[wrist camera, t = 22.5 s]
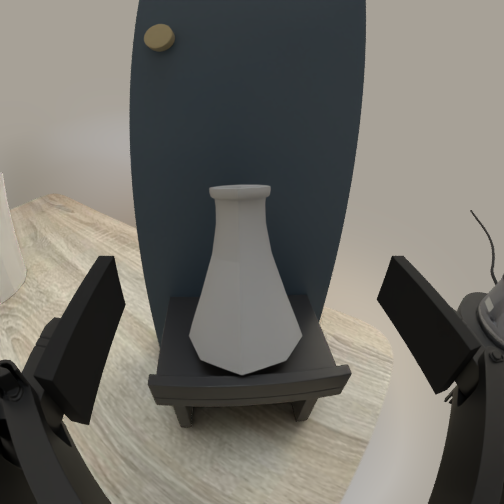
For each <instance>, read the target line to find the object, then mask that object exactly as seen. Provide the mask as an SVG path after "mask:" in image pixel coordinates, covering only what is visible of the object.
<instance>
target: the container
mask: <svg viewBox="0 0 504 504" xmlns="http://www.w3.org/2000/svg"><path fill="white" fill-rule="evenodd" d="M26 273H27V269H26V266H25V263H24V260H23V257H22V254H21V251H20V248H19V245H18V241H17V238H16V234H15V230H14V227H13V223H12V219H11V214H10V210H9V206H8V200H7V195H6V190H5V184H4V177H3V173H2V172H0V304H2V303H3V302H4V301H6V300H7V299H8V298H10V297H11V296H12V295H14V294H15V293H16V292H17V290H18V289H19V288H20V287H21V285H22V284H23V283H24V281H25V278H26Z"/></svg>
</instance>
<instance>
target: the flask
mask: <svg viewBox="0 0 504 504" xmlns="http://www.w3.org/2000/svg"><path fill="white" fill-rule="evenodd" d="M270 191H271V187H270V186H267V185H227V186H217V187H211V188H209V192H210V196H211V197H212V198H214V199H215V205H216V228H215V236H214V244H213V252H212V256H211V260H210V263H209V267H208V271H207V274H206V278H205V282H204V285H203V289H202V293H201V296H200V299H199V303H198V306H197V309H196V312H195V316H194V319H193V322H192V326H191V330H190V334H189V337H190V339H191V341H192V343H193V345H194V348H195V350H196V352H197V354H198V356H199V358H200V360H202V361H205V362H207V363H210V364H212V365H215V366H218V367H220V368H223V369H226V370H228V371H231V372H234V373H237V374H240V375H244V374H248V373H251V372H254V371H257V370H260V369H263V368H266V367H269V366H272V365H275V364H278V363H281V362H284V361H286V360H287V359H288V357H289V356H290V354H291V353H292V351H293V350H294V348H295V347H296V345H297V343H298V342H299V340H300V339H301V337H302V333H301V331H300V328H299V325H298V322H297V320H296V317H295V315H294V312H293V310H292V307H291V304H290V302H289V299H288V297H287V294H286V292H285V289H284V286H283V283H282V280H281V278H280V275H279V272H278V269H277V266H276V264H275V261H274V258H273V255H272V252H271V247H270V242H269V237H268V231H267V226H266V215H265V201H266V197H268V196H269V195H270Z"/></svg>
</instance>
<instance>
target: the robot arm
mask: <svg viewBox="0 0 504 504" xmlns="http://www.w3.org/2000/svg"><path fill="white" fill-rule="evenodd" d="M471 212H472V210H471ZM472 214H473V216H474V217H475V218H476V220H477V221H478V222H479V224H480V225H481V226H482V228H483V229H484V231H485V232H486V234H487V236H488V238H489V240H490V243H491V247H492V266H491V276H492V278H493V281H494V283H495V287H494V288H493V289H492V290H491V291H490V292H489V293H488V294H487V295H486V296H485V297H484V298H483V299H482V301H481V302H480V304H479V306H478V308H477V312H476V315H477V320H478V323H479V325H480V327H481V329H482V330H483V332H484V333H485V335H486V336H487V337H488V338H489V339H490V340H491V341H492V342H493V343H494V344H495V345H496V346H497V347H498V348H500V349H501V350H503V351H504V275H503V277H502V279H501V280H500V281H499V282H497V280H496V278H495V276H494V272H493V268H494V260H495V256H494V255H495V253H494V246H493V243H492V240H491V238H490V236H489V234H488V232H487V231H486V229H485V228H484V226H483V225H482V224H481V222H480V221H479V220H478V218H477V217H476V216H475V214H474V213H473V212H472ZM377 301H378V302H379V303H380V305H381V306H382V308H383V309H384V311H385V312H386V314H387V315H388V317H389V318H390V320H391V321H392V323H393V324H394V326H395V328H396V329H397V331H398V332H399V334H400V335H401V337H402V339H403V340H404V341H405V343H406V344H407V347H408V348H409V350H410V351H411V353H412V355H413V356H414V358H415V359H416V361H417V363H418V365H419V366H420V368H421V370H422V371H423V373H424V375H425V377H426V378H427V380H428V382H429V384H430V385H431V387H432V389H433V391H434V392H435V394H438V393H441V392H443V391H445V390H447V389H448V388H449V387H450V386H451V384H452V383H453V382H454V381H455V382H456V384H457V386H456V387H455V388H454V389H453V390H452V391H451V392H450V393H449V395H448V396H447V397H446V398H445V402H447V401H448V399H449V398H450V397H451V396H453V398H452V399H451V400H450V401H449V403H450V404H452V406H451V414H450V420H449V426H448V432H447V437H446V442H445V447H444V451H443V455H442V460H441V463H440V467H439V471H438V474H437V478H436V481H435V484H434V487H433V490H432V493H431V496H430V499H429V502H428V504H504V355H503V354H502V353H501V352H500V351H499V350H498V349H497V348H495V347H493V346H488V347H486V348H485V346H484V345H483V344H482V343H481V341H480V340H479V339H478V337H477V336H476V335H475V333H474V332H473V331H472V330H471V328H470V327H469V326H467V323H466V322H465V321H464V320H462V317H461V316H460V315H459V314H458V313H457V311H455V310H454V309H453V308H451V307H450V306H449V305H448V304H447V302H446V301H445V300H444V299H443V298H442V297H441V296H440V294H439V293H438V292H437V291H436V290H435V289H434V288H433V287H432V286H431V284H430V283H429V282H428V281H427V280H426V279H425V278H424V277H423V276H422V275H421V274H420V273H419V272H418V271H417V270H416V268H415V267H414V266H413V265H412V264H411V263H410V262H409V261H408V260H407V259H406V258H405V257H404V256H392V257H391V261H390V264H389V267H388V270H387V272H386V276H385V278H384V281H383V284H382V286H381V289H380V292H379V295H378V297H377ZM125 305H126V304H125V301H124V297H123V293H122V289H121V285H120V281H119V277H118V272H117V268H116V263H115V258H114V256H99V257H98V258H97V260H96V261H95V263H94V264H93V266H92V267H91V269H90V271H89V272H88V274H87V275H86V277H85V278H84V280H83V282H82V283H81V285H80V286H79V288H78V290H77V291H76V293H75V295H74V296H73V298H72V300H71V301H70V303H69V305H68V307H67V308H66V310H65V312H64V314H63V315H62V317H61V318H55V317H54V318H53V319H52V320H51V321H50V322H49V323H48V324H47V325H46V326H45V328H44V329H43V331H42V333H41V335H40V338H39V339H38V341H37V343H36V346H34V348H33V350H32V352H31V354H30V356H29V358H28V360H27V363H26V365H25V367H24V369H23V371H22V373H21V372H20V370H19V369H18V368H17V366H16V365H15V364H14V363H13V362H12V361H11V360H1V361H0V504H111V502H110V501H109V499H108V498H107V497H106V495H105V494H104V492H103V491H102V489H101V488H100V486H99V485H98V483H97V482H96V480H95V479H94V477H93V476H92V474H91V472H90V471H89V469H88V467H87V466H86V464H85V462H84V460H83V459H82V457H81V455H80V453H79V451H78V450H77V448H76V446H75V444H74V442H73V440H72V438H71V436H70V434H69V432H68V430H67V428H66V425H65V424H64V422H63V421H62V419H63V415H64V414H65V415H66V416H67V417H68V418H69V419H70V420H71V421H74V422H77V423H81V424H86V425H89V423H90V419H91V414H92V410H93V406H94V402H95V398H96V395H97V391H98V387H99V384H100V380H101V377H102V373H103V370H104V366H105V363H106V360H107V357H108V354H109V350H110V347H111V344H112V341H113V338H114V335H115V333H116V330H117V327H118V324H119V321H120V318H121V316H122V313H123V310H124V308H125Z"/></svg>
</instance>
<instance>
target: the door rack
mask: <svg viewBox="0 0 504 504" xmlns="http://www.w3.org/2000/svg"><path fill="white" fill-rule="evenodd" d="M365 43H366V0H139V5H138V11H137V17H136V24H135V33H134V42H133V52H132V64H131V80H130V155H131V174H132V187H133V199H134V208H135V218H136V226H137V234H138V241H139V248H140V254H141V261H142V267H143V273H144V278H145V284H146V289H147V294H148V299H149V304H150V308H151V313H152V317H153V322H154V326H155V330H156V334H157V338H158V342H159V346H160V354H159V360H158V367H157V373H156V375H154V374H150V375H149V380H148V386H149V388H150V391H151V393H152V395H153V398H154V400H155V402H156V404H157V405H169V406H173V407H174V410H175V413H176V415H177V418H178V421H179V423H180V426H181V427H192V406H194V407H222V406H248V405H263V404H274V403H284V402H292V406H293V410H294V415H295V419H296V422H297V421H304V420H307V419H308V417H309V415H310V413H311V411H312V409H313V407H314V405H315V403H316V401H317V399H318V398H320V397H326V396H332V395H337V394H341V392H342V390H343V388H344V386H345V385H346V383H347V381H348V379H349V378H350V376H351V374H352V373H351V370H350V368H349V366H348V365H341V366H336V364H335V361H334V359H333V356H332V354H331V351H330V349H329V346H328V344H327V341H326V339H325V337H324V334H323V332H322V329H321V327H320V324H319V320H320V317H321V313H322V310H323V306H324V303H325V299H326V295H327V292H328V288H329V284H330V280H331V276H332V272H333V268H334V264H335V260H336V256H337V251H338V247H339V243H340V238H341V233H342V229H343V224H344V219H345V214H346V209H347V203H348V198H349V192H350V187H351V181H352V175H353V169H354V162H355V156H356V148H357V141H358V133H359V125H360V115H361V106H362V95H363V83H364V68H365ZM227 185H267V186H270V187H271V191H270V195H269V196H268V197H266V201H265V215H266V226H267V231H268V237H269V242H270V247H271V252H272V255H273V258H274V261H275V264H276V266H277V269H278V272H279V275H280V278H281V280H282V283H283V286H284V289H285V292H286V294H287V297H288V299H289V302H290V304H291V307H292V310H293V312H294V315H295V317H296V320H297V322H298V325H299V328H300V331H301V333H302V337H301V339H300V340H299V342H298V343H297V345H296V347H295V348H294V350H293V351H292V353H291V354H290V356H289V357H288V359H287V360H286V361H284V362H281V363H278V364H275V365H272V366H269V367H266V368H263V369H260V370H257V371H254V372H251V373H248V374H244V375H240V374H237V373H234V372H231V371H228V370H226V369H223V368H220V367H218V366H215V365H212V364H210V363H207V362H205V361H202V360H200V358H199V356H198V354H197V352H196V350H195V348H194V345H193V343H192V341H191V339H190V337H189V334H190V330H191V326H192V322H193V319H194V316H195V312H196V309H197V306H198V303H199V299H200V296H201V293H202V289H203V285H204V282H205V278H206V274H207V271H208V267H209V263H210V260H211V256H212V252H213V244H214V236H215V228H216V205H215V199H214V198H212V197H211V196H210V192H209V188H211V187H217V186H227Z"/></svg>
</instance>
